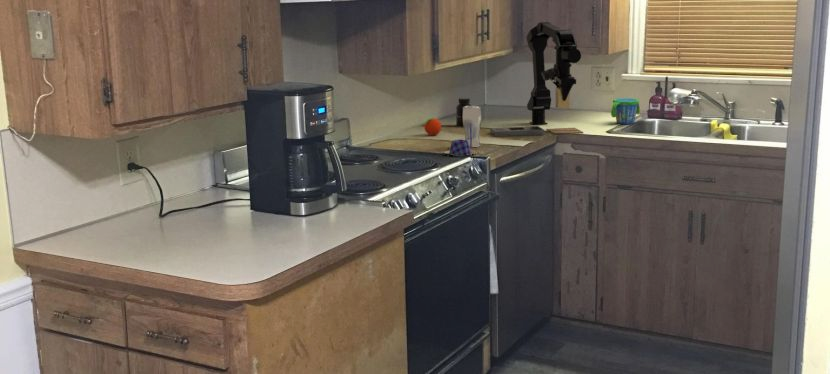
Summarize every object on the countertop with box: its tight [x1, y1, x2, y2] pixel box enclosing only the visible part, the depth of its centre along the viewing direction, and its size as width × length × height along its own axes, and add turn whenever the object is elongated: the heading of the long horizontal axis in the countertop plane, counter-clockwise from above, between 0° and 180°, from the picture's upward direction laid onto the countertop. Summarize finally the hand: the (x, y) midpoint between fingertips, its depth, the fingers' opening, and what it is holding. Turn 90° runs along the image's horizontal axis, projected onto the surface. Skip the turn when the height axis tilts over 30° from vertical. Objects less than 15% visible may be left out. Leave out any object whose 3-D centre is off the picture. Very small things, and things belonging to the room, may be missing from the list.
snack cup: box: [610, 97, 641, 125], centre depth 389 cm, size 16×10×10 cm
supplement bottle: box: [455, 97, 472, 127], centre depth 392 cm, size 7×7×12 cm
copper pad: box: [546, 127, 584, 136], centre depth 372 cm, size 12×12×1 cm
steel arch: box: [489, 125, 545, 138], centre depth 370 cm, size 10×20×2 cm, turn 97°
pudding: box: [443, 139, 478, 155], centre depth 328 cm, size 12×12×5 cm
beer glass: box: [462, 105, 482, 148], centre depth 342 cm, size 7×7×15 cm
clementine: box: [423, 117, 442, 136], centre depth 370 cm, size 8×7×7 cm
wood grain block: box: [555, 87, 571, 109], centre depth 369 cm, size 4×4×8 cm
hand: (562, 100), depth 370 cm, fingers closed on wood grain block, 4 cm apart
